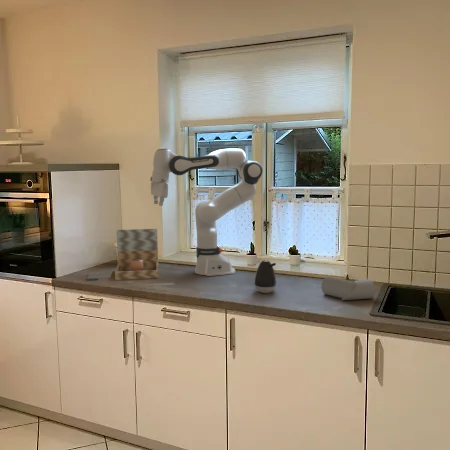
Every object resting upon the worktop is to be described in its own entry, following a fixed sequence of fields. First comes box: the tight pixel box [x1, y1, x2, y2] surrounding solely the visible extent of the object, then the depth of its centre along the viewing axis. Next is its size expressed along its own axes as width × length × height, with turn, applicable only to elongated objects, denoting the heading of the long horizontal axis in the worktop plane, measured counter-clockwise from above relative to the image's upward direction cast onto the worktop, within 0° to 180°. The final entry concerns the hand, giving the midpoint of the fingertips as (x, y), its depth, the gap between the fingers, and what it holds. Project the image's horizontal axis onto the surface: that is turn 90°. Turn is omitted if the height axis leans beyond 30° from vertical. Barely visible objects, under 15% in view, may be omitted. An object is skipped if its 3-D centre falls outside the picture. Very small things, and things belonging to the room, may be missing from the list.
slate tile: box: [86, 270, 113, 281], centre depth 254 cm, size 12×14×1 cm
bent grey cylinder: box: [321, 276, 376, 302], centre depth 213 cm, size 18×11×20 cm
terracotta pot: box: [131, 258, 144, 271], centre depth 254 cm, size 6×6×8 cm
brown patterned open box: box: [114, 228, 159, 281], centre depth 253 cm, size 22×20×24 cm
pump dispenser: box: [254, 259, 277, 294], centre depth 222 cm, size 10×10×15 cm
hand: (158, 204), depth 253 cm, fingers open, 8 cm apart
